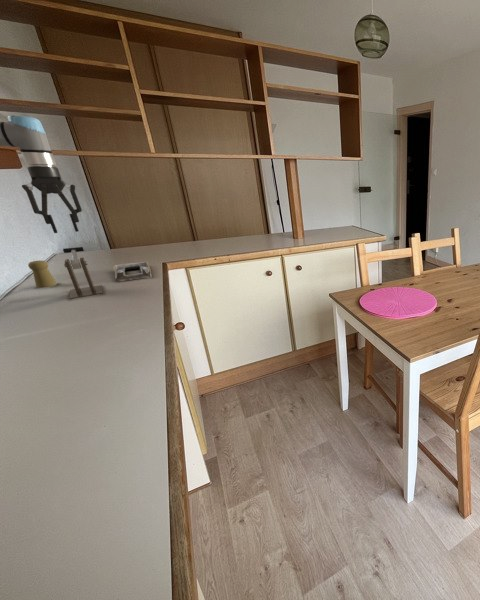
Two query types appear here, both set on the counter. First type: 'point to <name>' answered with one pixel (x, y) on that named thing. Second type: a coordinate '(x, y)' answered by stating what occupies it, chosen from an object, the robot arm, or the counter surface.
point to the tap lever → (74, 256)
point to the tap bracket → (78, 291)
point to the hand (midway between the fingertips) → (66, 231)
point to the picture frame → (132, 266)
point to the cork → (41, 274)
